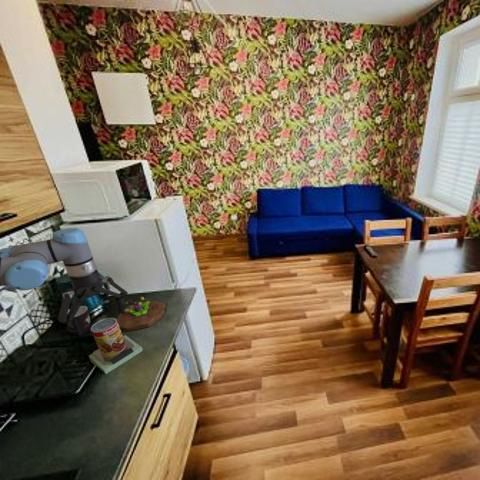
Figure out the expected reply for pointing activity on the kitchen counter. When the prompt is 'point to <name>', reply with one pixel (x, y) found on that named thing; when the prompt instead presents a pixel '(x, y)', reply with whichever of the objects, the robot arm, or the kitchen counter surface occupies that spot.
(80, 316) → the coffee mug
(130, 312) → the plant
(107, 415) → the kitchen counter surface
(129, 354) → the scale
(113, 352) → the canned food
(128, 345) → the scale pan
